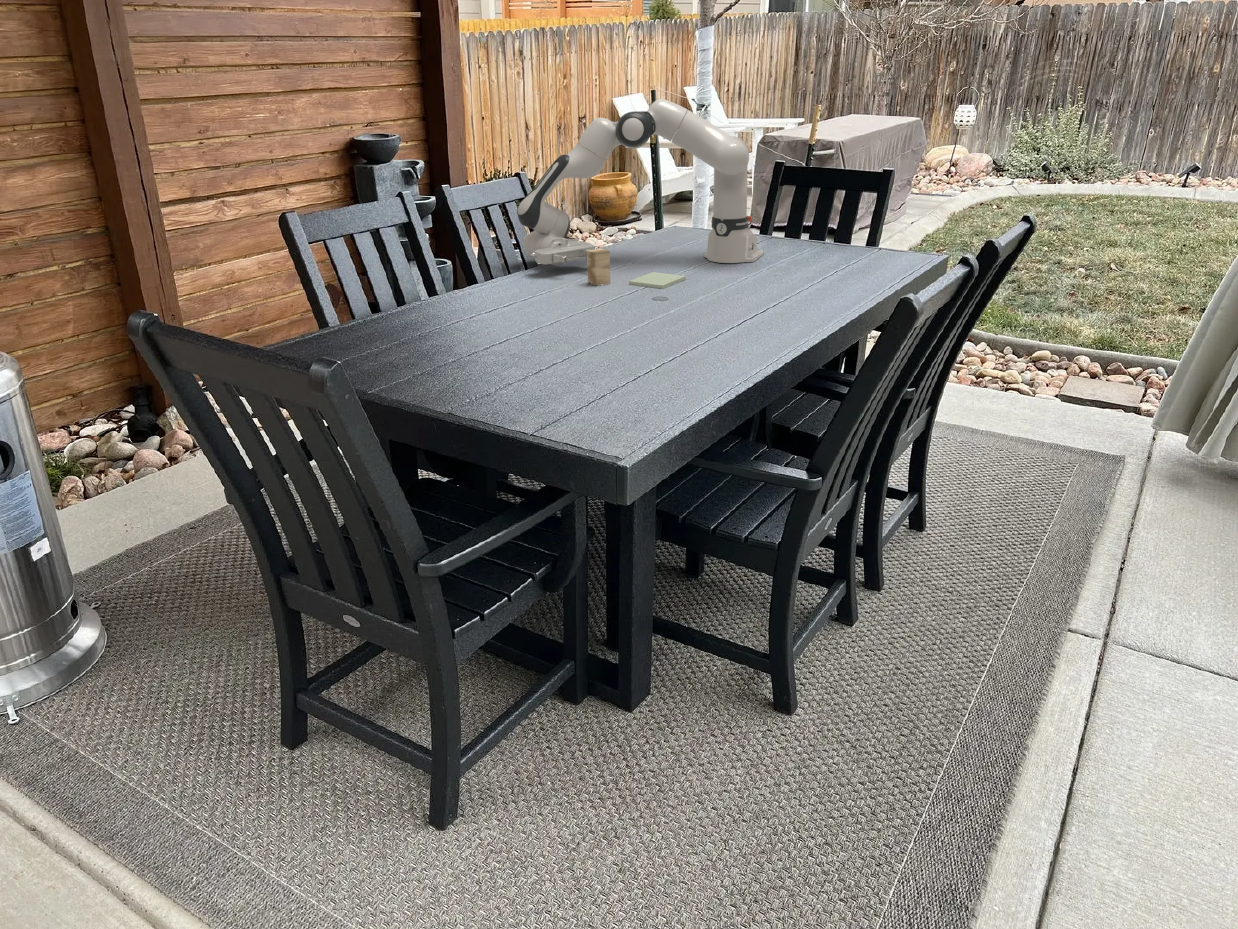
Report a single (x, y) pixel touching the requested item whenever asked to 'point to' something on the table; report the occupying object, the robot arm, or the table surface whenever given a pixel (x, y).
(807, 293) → the table surface
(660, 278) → the sage mat
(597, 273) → the oak block
